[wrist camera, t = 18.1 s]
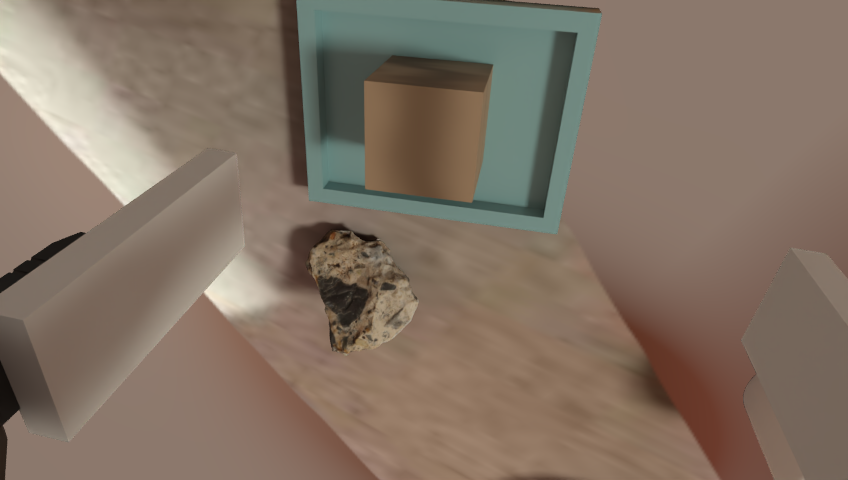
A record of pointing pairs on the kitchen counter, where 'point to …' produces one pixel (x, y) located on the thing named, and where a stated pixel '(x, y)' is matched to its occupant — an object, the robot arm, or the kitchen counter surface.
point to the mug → (770, 433)
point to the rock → (360, 291)
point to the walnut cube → (426, 126)
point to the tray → (508, 107)
